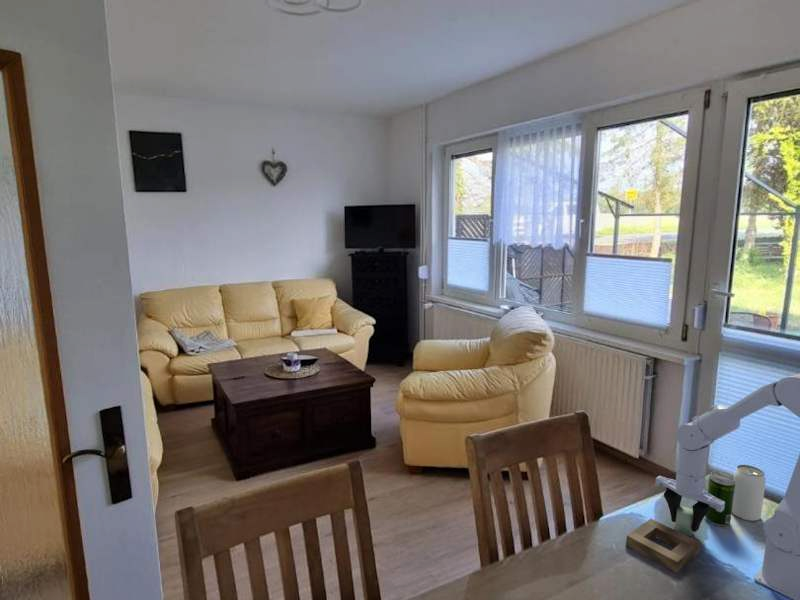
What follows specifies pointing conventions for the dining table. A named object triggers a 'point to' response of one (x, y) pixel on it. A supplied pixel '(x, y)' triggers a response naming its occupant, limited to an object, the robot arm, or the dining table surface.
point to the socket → (670, 559)
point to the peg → (684, 521)
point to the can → (748, 492)
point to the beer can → (721, 497)
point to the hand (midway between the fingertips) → (684, 525)
